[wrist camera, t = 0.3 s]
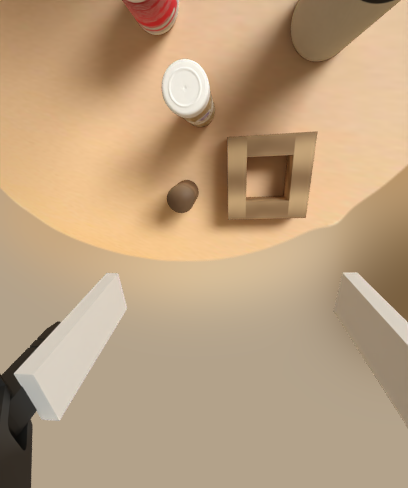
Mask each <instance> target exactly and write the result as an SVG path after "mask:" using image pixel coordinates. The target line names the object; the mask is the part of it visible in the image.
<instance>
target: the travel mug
mask: <svg viewBox="0 0 408 488" xmlns="http://www.w3.org/2000/svg"><path fill="white" fill-rule="evenodd" d="M399 1H400V0H299V1H298V3H297V5H296V7H295V10H294V12H293V16H292V21H291V38H292V42H293V45H294V47H295V49H296V50H297V52H298V53H299V54H300V55H301V56H302V57H303V58H305V59H307V60H310V61H316V62H317V61H324V60H327V59H329V58H331V57H333V56H335V55H336V54H337V53H339V52H340V51H341V50H342V49H343V48H345V47H346V46H347V45H348V44H349V43H351V42H352V41H353V40H354V39H355V38H357V37H358V36H359V35H360V34H361V33H362V32H364V31H365V30H366V29H367V28H368V27H370V26H371V25H372V24H373V23H374V22H376V21H377V20H378V19H379V18H380V17H381V16H383V15H384V14H385V13H386V12H387V11H389V10H390V9H391V8H392V7H393V6H395V5H396V4H397V3H398V2H399Z"/></svg>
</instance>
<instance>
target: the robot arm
mask: <svg viewBox="0 0 408 488" xmlns="http://www.w3.org/2000/svg"><path fill="white" fill-rule="evenodd" d="M126 309H127V305H126V302H125V298H124V294H123V290H122V286H121V282H120V278H119V274H118V273H106V274H105V275H104V277H103V278H102V279H101V280H100V281H99V282H98V283H97V284H96V285H95V286H94V287H93V288H92V290H91V291H90V292H89V293H88V294H87V295H86V296H85V297H84V298H83V299H82V300H81V301H80V302H79V304H78V305H77V306H76V307H75V308H74V309H73V310H72V311H71V312H70V313H69V314H68V316H67V317H66V318H65V319H64V320H63V321H62V322H56V323H55V324H53V325H52V326H50V327H49V328H47V329H46V330H45V331H44V332H43V333H42V334H41V335H40V336H39V337H38V339H37V340H35V341H34V342H33V343H32V345H30V348H28V349H27V350H26V351H25V352H24V353H23V354H22V355H21V356H20V357H19V358H18V359H17V360H16V361H15V362H14V363H13V364H12V365H11V366H10V367H9V368H8V369H7V370H6V371H5V372H4V373H3V374H2V375H0V488H31V464H32V463H31V462H32V422H31V420H30V419H31V417H32V416H33V415H34V413H35V412H36V411H37V412H38V414H39V416H40V417H41V419H43V420H56V421H60V419H61V417H62V416H63V414H64V412H65V411H66V409H67V407H68V405H69V404H70V402H71V401H72V399H73V397H74V396H75V394H76V392H77V391H78V389H79V387H80V386H81V384H82V382H83V381H84V379H85V377H86V376H87V374H88V372H89V371H90V369H91V368H92V366H93V364H94V363H95V361H96V359H97V357H98V356H99V354H100V353H101V351H102V349H103V348H104V346H105V344H106V343H107V341H108V339H109V337H110V336H111V334H112V333H113V331H114V329H115V328H116V326H117V324H118V322H119V321H120V319H121V318H122V316H123V314H124V313H125V311H126ZM334 313H335V314H336V316H337V318H338V319H339V321H340V322H341V324H342V326H343V327H344V328H345V330H346V332H347V333H348V335H349V336H350V338H351V340H352V341H353V343H354V344H355V346H356V347H357V349H358V351H359V352H360V354H361V355H362V357H363V358H364V360H365V361H366V363H367V365H368V366H369V368H370V369H371V371H372V372H373V374H374V376H375V377H376V379H377V380H378V382H379V383H380V385H381V387H382V388H383V390H384V391H385V393H386V394H387V396H388V398H389V399H390V401H391V402H392V404H393V405H394V407H395V409H396V410H397V412H398V413H399V415H400V416H401V418H402V420H403V421H404V423H405V424H406V426H407V427H408V322H407V321H406V320H405V319H404V318H403V317H402V316H401V315H400V314H399V313H398V312H397V311H395V309H394V308H392V306H391V305H389V304H388V302H387V301H385V300H384V299H383V298H382V297H381V296H380V295H379V294H378V293H377V292H376V291H375V290H374V289H373V288H372V287H371V286H370V285H369V284H368V283H367V282H366V281H365V280H364V279H363V278H362V277H361V276H360V275H359V274H358V273H342V277H341V281H340V285H339V290H338V294H337V298H336V303H335V307H334Z"/></svg>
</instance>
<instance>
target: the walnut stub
mask: <svg viewBox="0 0 408 488" xmlns="http://www.w3.org/2000/svg"><path fill="white" fill-rule="evenodd" d="M198 193H199V192H198V188H197V186H196V184H195V183H194V182H192V181H189V180H184V181H181V182H180V183H178V184H177V185H176V186H174V187H173V188H172V189H171V190H170V191H169V192H168V195H167V202H168V205H169V206H170V208H171V209H172V210H174V211H175V212H178V213H184V212H187V211H189V210H190V209H191V208H192V206H193V204H194V202H195V201H196V199H197V197H198Z"/></svg>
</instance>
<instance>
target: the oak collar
mask: <svg viewBox="0 0 408 488" xmlns="http://www.w3.org/2000/svg"><path fill="white" fill-rule="evenodd" d="M316 139H317V132H302V133H286V134H270V135H254V136H238V137H227V154H228V220H233V219H276V218H306V212H307V205H308V198H309V190H310V183H311V176H312V168H313V161H314V154H315V146H316ZM280 155H287V166H286V177H285V188H284V196H274V197H246V176H247V157H261V156H280Z"/></svg>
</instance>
